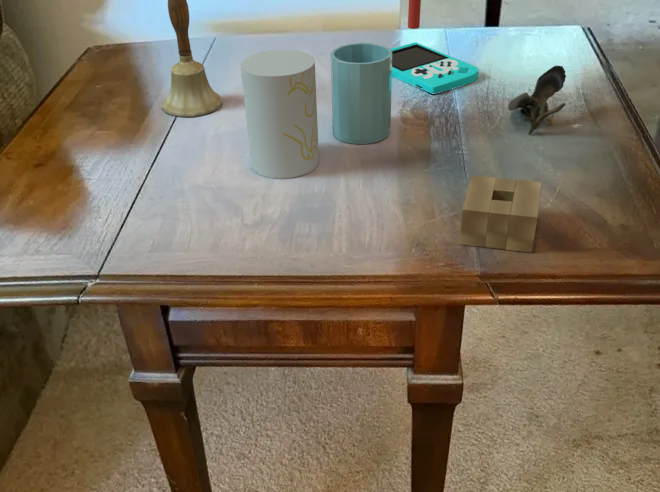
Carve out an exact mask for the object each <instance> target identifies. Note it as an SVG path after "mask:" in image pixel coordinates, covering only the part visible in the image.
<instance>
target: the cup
mask: <svg viewBox="0 0 660 492" xmlns="http://www.w3.org/2000/svg"><path fill="white" fill-rule="evenodd" d="M240 73H241V82H242V90H243V91H242V92H243V93H242V94H243V101H244V111H245V112H244V113H245V120H246V132H247V140H248V148H249V149H248V150H249V159H250V167H251V169H252V170H253V172H255V173H256V174H258V175H259V176H262V177H266V178H269V179H279V180H281V179H282V180H283V179H292V178H293V179H294V178H298V177H302V176H305V175H307V174H309V173H311V172H313V171H314V170H316V168H317V167H318V166H319V164H320V153H319V152H320V151H319V130H318V129H319V128H318V125H319V124H318V106H317V105H318V103H317V82H316V80H317V79H316V60H315V58H314V56H313V55H311V54H310V53H307V52H304V51H302V50H295V49H272V50H265V51H261V52H256V53H253V54H250V55H248V56H246V57H245V58H244V59H243V60H242V61H241V62H240Z"/></svg>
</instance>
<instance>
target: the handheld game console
mask: <svg viewBox="0 0 660 492" xmlns="http://www.w3.org/2000/svg"><path fill="white" fill-rule="evenodd" d="M389 49H390V50H391V52H392V78H395V79H397V80H399V79H400V81H401V80H402V81H401V82H403V81H404V83H406V82H407V83H406V84H408V83H410V84H413V85H415V86H417V87H419V88H422V89H424V90H426V91H428V92H430V93H438V92H441V91H445V90H449V91H451V90H450V89H452V88H455V87H458V86H461V87H463V86H462V85H464V86H466V85H465V84H467V85H469V84H468V83H470V84H472V83H474V82H476V80H478V78H479V72H480V71H479V70H480V69H479V67H477V66H475V65H473V64H471V63H468V62H466V61H463V60H461V59H458V58H456V57H454V56H451V55H449V54H446V53H443V52H441V51H438V50H436V49H434V48H431V47H429V46H426V45H423V44H421V43H420V42H416V41H414V42H411V43H406V44H402V45H399V46H396V47H391V48H389ZM473 81H474V82H473ZM471 82H472V83H471ZM410 84H409V85H410ZM458 88H459V87H458ZM455 89H456V88H455ZM452 90H453V89H452ZM445 92H446V91H445Z"/></svg>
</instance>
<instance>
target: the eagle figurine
mask: <svg viewBox="0 0 660 492" xmlns="http://www.w3.org/2000/svg"><path fill="white" fill-rule="evenodd" d="M566 78H567V75H566V70H565V67H563V65H554V66H552V67H550V68H549V69H548V70H546V71H545V72H544V73H542V75H540V76H539V77H538V78H537V79H536V83H535V86H534V89H533V93H532V94H529V93H528V92H523V93H521V94H518V95H516V96H514V97H513V98H511V99H510V101H509V103H508V106H507V107H508V108H507V109H508V111H511V112H514V111H516V110H518V109H522V110H523V111H525V114H526V116H525V117H524V116H523V118H522V120H523V121H528V122H529V123H530V125H529V130H528V133H527V134H528V136H530V135H532V133H533V132H534V131H535V130H537V128H538V127H539V126H540V124H541V123H542V121H547V122H548V123H549V124H551V125H552V126H553V125H554V121H553V114H556V113H558V112H559V111H561V110H562V109H563V108H564V107H565V106H566V102H563V103H561V104H559V105H558V106H556V107H554V108H552V109H549V105H548V100H549V99H550V98H551V97H554V95H555V94H556V93H558V92H560V91H561V90H562V89H563V87H564V83H565V82H566Z"/></svg>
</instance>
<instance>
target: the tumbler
mask: <svg viewBox="0 0 660 492" xmlns="http://www.w3.org/2000/svg"><path fill="white" fill-rule="evenodd" d="M390 49H391V48H390V47H387V46H386V45H384V44H379V43H373V42H356V43H355V42H354V43H348V44H343V45H340V46H338V47H336V48H334V49H332V51H331V52H330V77H331V78H330V81H331V82H330V83H331V84H330V85H331V114H332V115H331V116H332V117H331V118H332V133H333V136H334V137H335V139H337V140H339V141H341V142H344V143H347V144H352V145H368V144H369V145H370V144H375V143H377V142H381V141H383V140H385V139H386V138H387V137H389V136H390V135H391V128H392V127H391V126H392V89H393V88H392V87H393V84H392V82H393V80H392V79H393V76H392V52H391V50H390Z"/></svg>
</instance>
